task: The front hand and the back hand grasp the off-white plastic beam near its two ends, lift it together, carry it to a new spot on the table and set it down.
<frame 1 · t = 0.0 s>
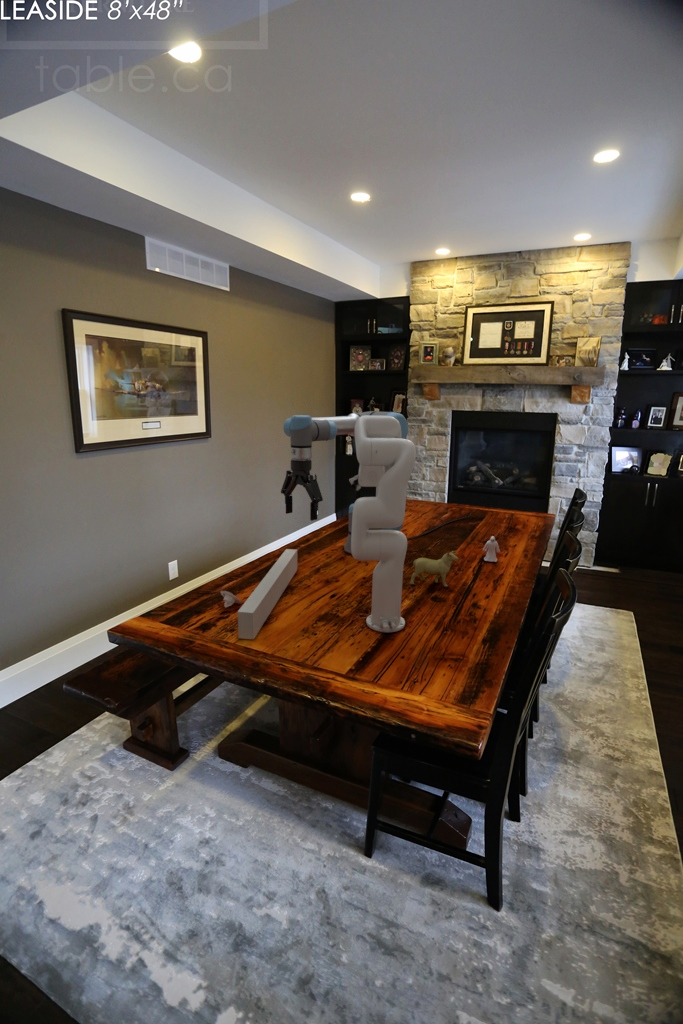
front hand: (370, 500, 199), 31 cm above the table, tool pointing down, fingers open, 9 cm apart
back hand: (301, 516, 184), 28 cm above the table, tool pointing down, fingers open, 13 cm apart
toy: (432, 585, 196), on the table
beam: (272, 598, 181), on the table
seashell: (230, 605, 174), on the table
figurine: (490, 560, 225), on the table
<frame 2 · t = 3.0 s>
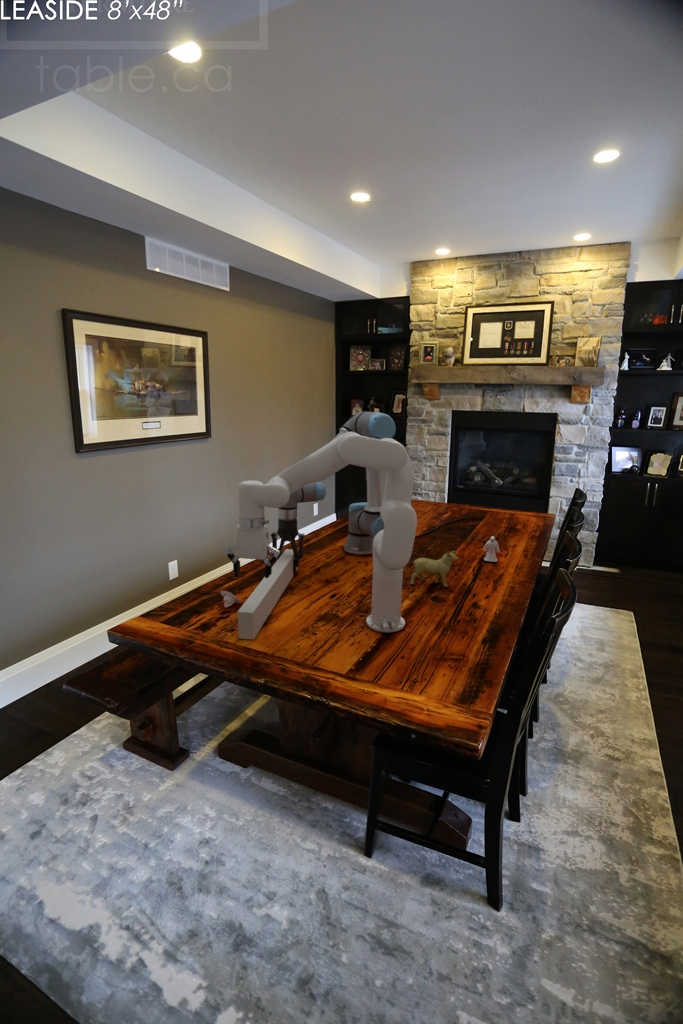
front hand: (252, 575, 154), 18 cm above the table, tool pointing down, fingers open, 9 cm apart
back hand: (288, 573, 203), 1 cm above the table, tool pointing down, fingers closed on beam, 5 cm apart
beam: (272, 598, 181), on the table, touching back hand
everything else where it was.
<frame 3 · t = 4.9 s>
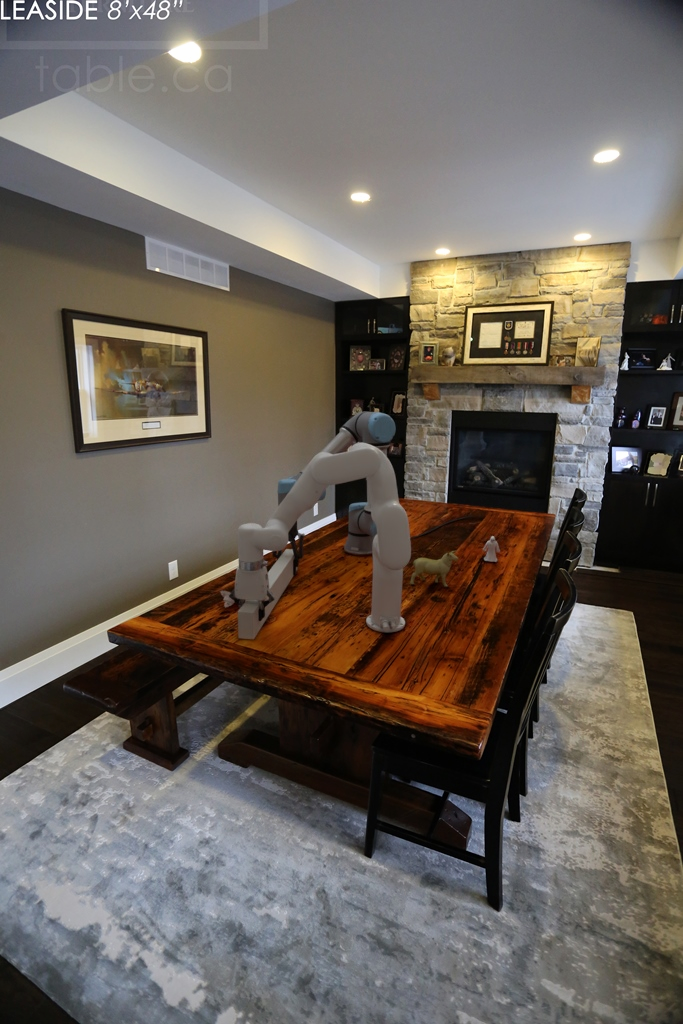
front hand: (252, 618, 157), 4 cm above the table, tool pointing down, fingers closed on beam, 4 cm apart
back hand: (288, 573, 203), 1 cm above the table, tool pointing down, fingers closed on beam, 5 cm apart
beam: (272, 598, 181), on the table, touching front hand, back hand
everything else where it was.
when the back hand's fingers open (2 cm above the table, at t = 9.9 s): beam drops 1 cm, on the table.
when the front hand's fingers open (5 cm above the table, at t = 10.0 s): beam stays where it is, on the table.
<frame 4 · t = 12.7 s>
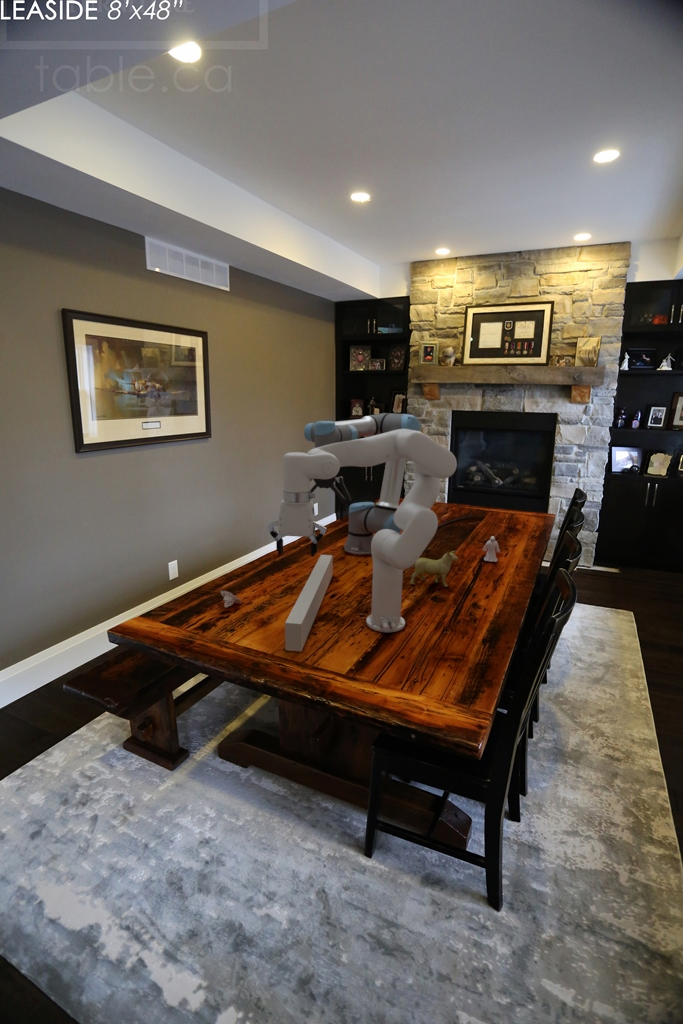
front hand: (296, 554, 145), 27 cm above the table, tool pointing down, fingers open, 9 cm apart
back hand: (324, 518, 191), 26 cm above the table, tool pointing down, fingers open, 13 cm apart
beam: (312, 606, 174), on the table
everything else where it was.
at the end: beam inside the target area (0.2 cm from its centre), on the table; beam tilted 0°; beam never tilted more than 2° during the clip; both hands held the beam at the same time; the front hand is holding nothing; the back hand is holding nothing; beam at rest at the end (0.0 cm/s) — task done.
